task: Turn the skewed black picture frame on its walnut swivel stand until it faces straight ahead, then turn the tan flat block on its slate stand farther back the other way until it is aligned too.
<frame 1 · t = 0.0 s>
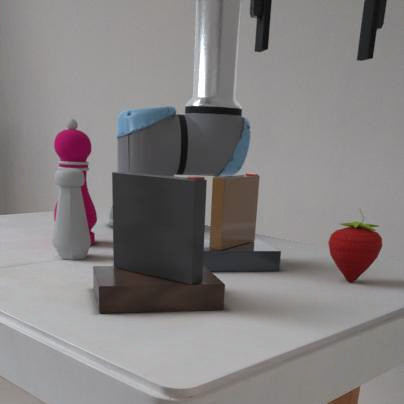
hand: (314, 55, 68), 28 cm above the table, tool pointing down, fingers open, 13 cm apart
black frame: (156, 225, 64), point 9 cm above the table, hinge at -50.0°
tan flat block: (235, 210, 85), point 8 cm above the table, hinge at 45.0°
pepper mill: (76, 244, 98), on the table
strawberry: (349, 282, 80), on the table
walnut stand: (155, 299, 67), on the table
slate stand: (231, 264, 88), on the table
salt shaker: (72, 258, 87), on the table
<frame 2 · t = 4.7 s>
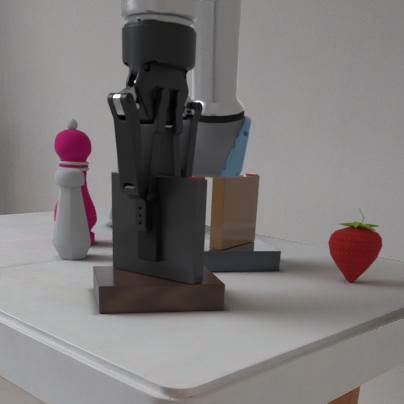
hand: (156, 257, 65), 5 cm above the table, tool pointing down, fingers closed on black frame, 2 cm apart
black frame: (156, 225, 64), point 9 cm above the table, hinge at -48.5°, touching gripper
everything else where it was.
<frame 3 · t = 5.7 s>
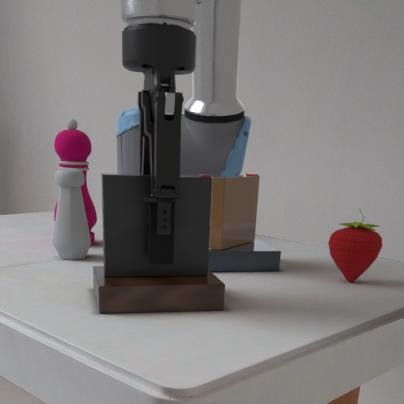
hand: (156, 257, 65), 5 cm above the table, tool pointing down, fingers open, 5 cm apart
black frame: (156, 225, 64), point 9 cm above the table, hinge at 0.0°
everything else where it was.
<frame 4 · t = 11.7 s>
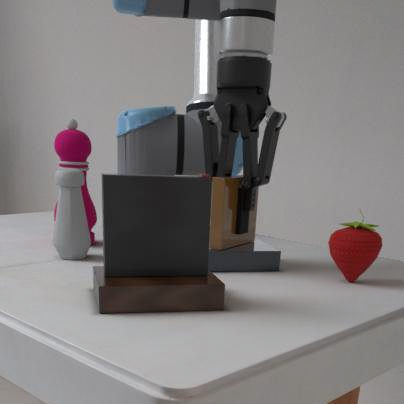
hand: (233, 231, 86), 5 cm above the table, tool pointing down, fingers closed on tan flat block, 2 cm apart
tan flat block: (235, 210, 85), point 8 cm above the table, hinge at 45.0°, touching gripper
everything else where it was.
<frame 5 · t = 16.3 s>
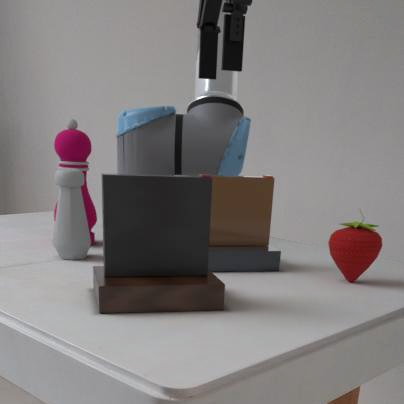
hand: (218, 75, 83), 27 cm above the table, tool pointing down, fingers open, 13 cm apart
tan flat block: (235, 210, 85), point 8 cm above the table, hinge at 0.5°
everything else where it was.
at the end: black frame at +0° (first picture: -50°); tan flat block at +0° (first picture: +45°) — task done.
